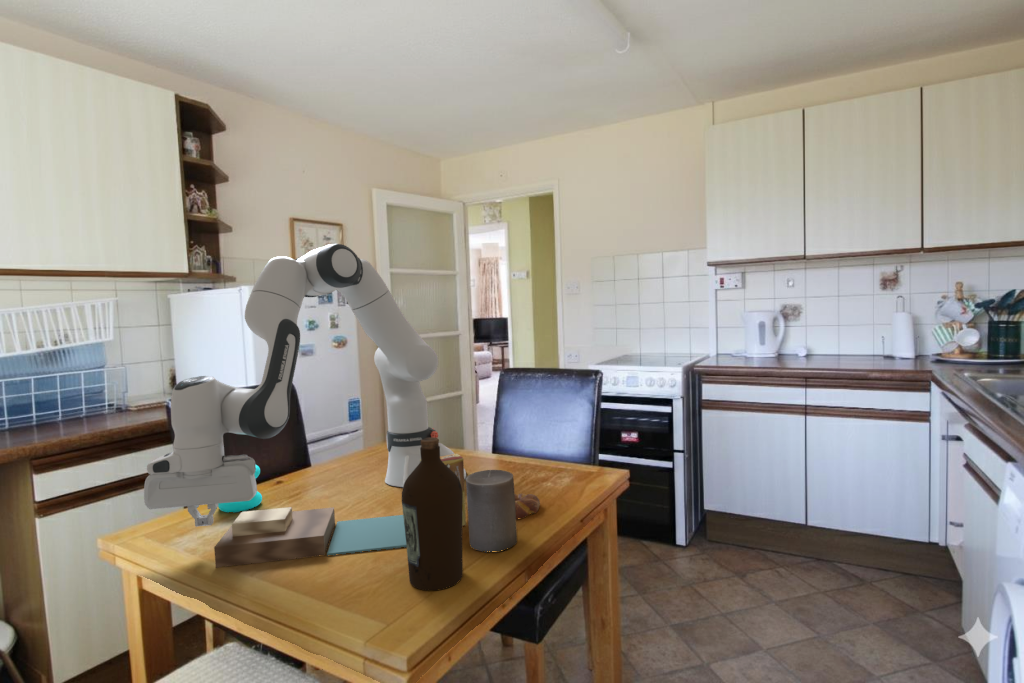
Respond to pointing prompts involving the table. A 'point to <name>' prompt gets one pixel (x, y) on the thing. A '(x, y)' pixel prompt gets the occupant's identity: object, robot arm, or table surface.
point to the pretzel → (526, 505)
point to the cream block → (262, 521)
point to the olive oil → (433, 521)
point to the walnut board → (279, 540)
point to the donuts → (242, 504)
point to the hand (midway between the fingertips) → (204, 525)
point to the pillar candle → (491, 510)
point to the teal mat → (368, 535)
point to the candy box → (457, 467)
